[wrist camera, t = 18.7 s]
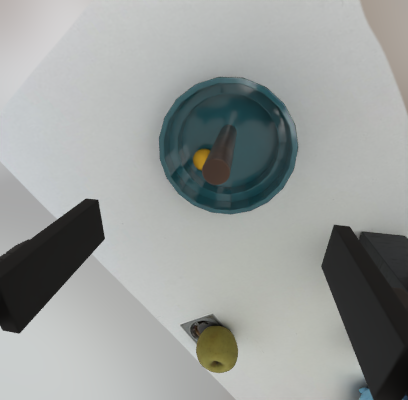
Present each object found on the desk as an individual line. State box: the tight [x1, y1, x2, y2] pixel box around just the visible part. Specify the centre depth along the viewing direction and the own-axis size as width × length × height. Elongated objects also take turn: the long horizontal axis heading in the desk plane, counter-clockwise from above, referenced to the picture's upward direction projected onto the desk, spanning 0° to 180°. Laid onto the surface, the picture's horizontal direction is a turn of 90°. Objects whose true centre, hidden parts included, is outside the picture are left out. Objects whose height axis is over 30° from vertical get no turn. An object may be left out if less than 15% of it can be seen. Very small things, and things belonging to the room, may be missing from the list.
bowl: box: [159, 77, 298, 214], centre depth 32 cm, size 16×16×6 cm
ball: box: [193, 149, 210, 171], centre depth 34 cm, size 3×3×3 cm
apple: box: [196, 326, 238, 373], centre depth 49 cm, size 8×8×7 cm
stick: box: [202, 125, 237, 185], centre depth 26 cm, size 2×2×16 cm
